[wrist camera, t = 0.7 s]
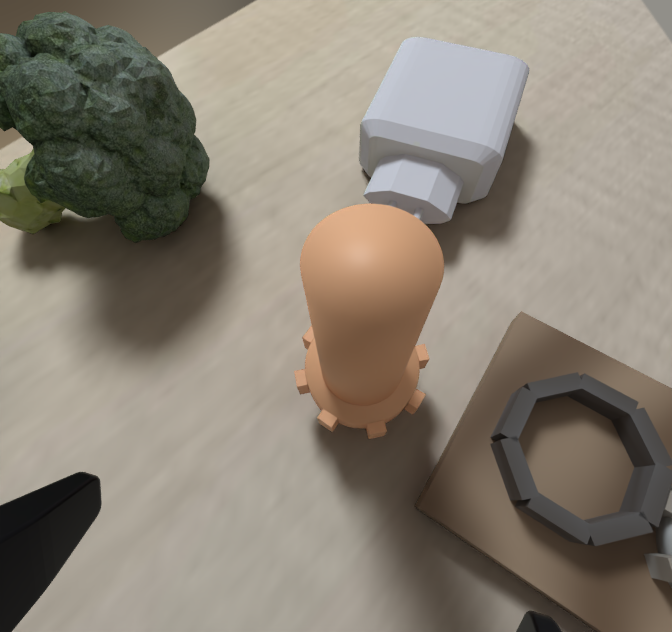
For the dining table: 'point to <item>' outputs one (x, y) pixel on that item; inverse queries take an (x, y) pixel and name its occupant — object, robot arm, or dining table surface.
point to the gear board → (566, 478)
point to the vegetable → (95, 130)
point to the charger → (439, 126)
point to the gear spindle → (367, 314)
